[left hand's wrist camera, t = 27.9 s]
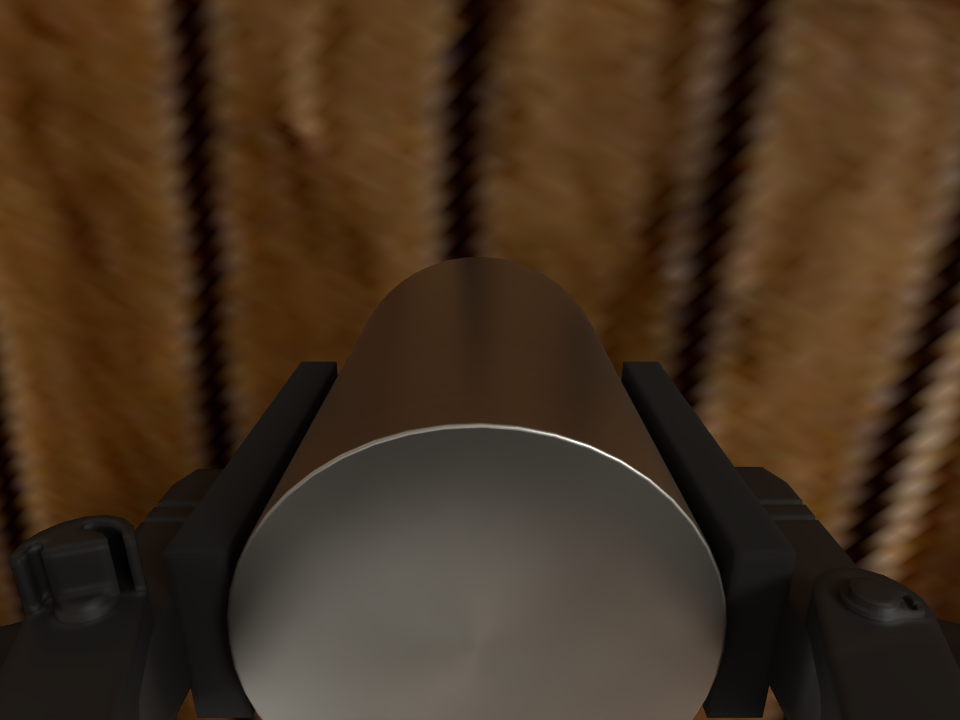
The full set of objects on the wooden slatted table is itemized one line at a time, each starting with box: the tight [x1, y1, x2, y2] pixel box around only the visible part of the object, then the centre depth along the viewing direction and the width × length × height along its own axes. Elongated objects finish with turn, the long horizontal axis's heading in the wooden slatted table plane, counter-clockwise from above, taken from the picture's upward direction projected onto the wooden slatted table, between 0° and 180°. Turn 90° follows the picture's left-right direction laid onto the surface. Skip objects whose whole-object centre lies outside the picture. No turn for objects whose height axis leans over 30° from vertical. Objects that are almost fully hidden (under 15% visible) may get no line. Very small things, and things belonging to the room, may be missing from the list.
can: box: [227, 257, 727, 720], centre depth 12 cm, size 6×6×9 cm
